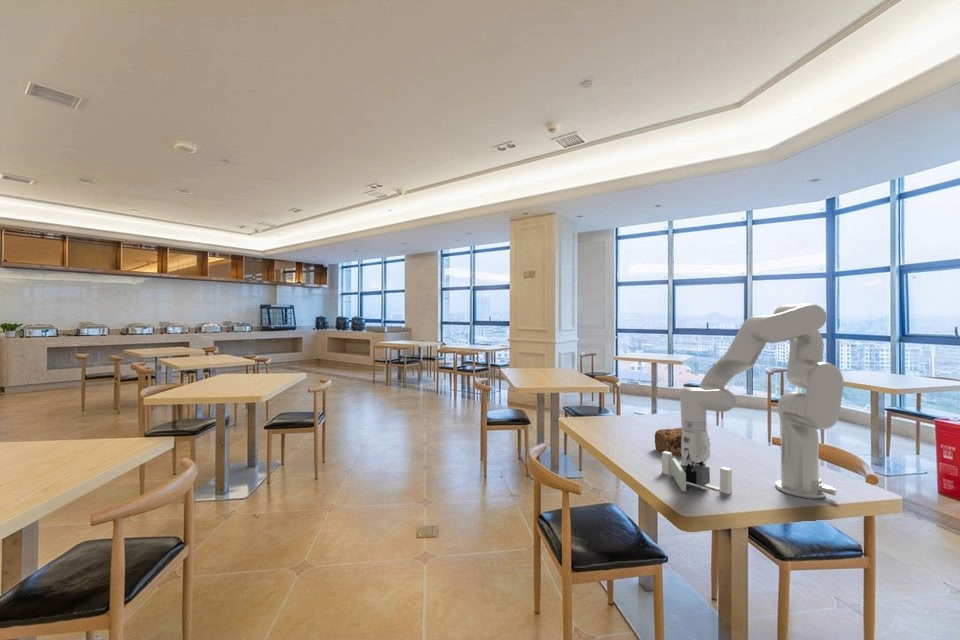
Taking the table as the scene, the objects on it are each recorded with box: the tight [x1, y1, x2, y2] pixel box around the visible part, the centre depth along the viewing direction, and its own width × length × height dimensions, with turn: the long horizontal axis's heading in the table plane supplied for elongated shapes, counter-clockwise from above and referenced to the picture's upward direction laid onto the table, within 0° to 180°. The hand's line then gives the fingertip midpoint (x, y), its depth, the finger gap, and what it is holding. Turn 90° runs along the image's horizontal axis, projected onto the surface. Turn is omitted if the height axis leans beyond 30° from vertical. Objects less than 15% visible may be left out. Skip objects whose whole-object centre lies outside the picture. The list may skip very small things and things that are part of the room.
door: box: [670, 456, 687, 492], centre depth 137 cm, size 16×1×6 cm, turn 166°
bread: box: [654, 427, 711, 457], centre depth 169 cm, size 19×11×10 cm, turn 92°
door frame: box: [661, 451, 733, 495], centre depth 138 cm, size 22×2×8 cm, turn 36°
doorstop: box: [680, 463, 711, 487], centre depth 134 cm, size 7×5×5 cm
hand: (695, 479), depth 134 cm, fingers closed on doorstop, 5 cm apart
